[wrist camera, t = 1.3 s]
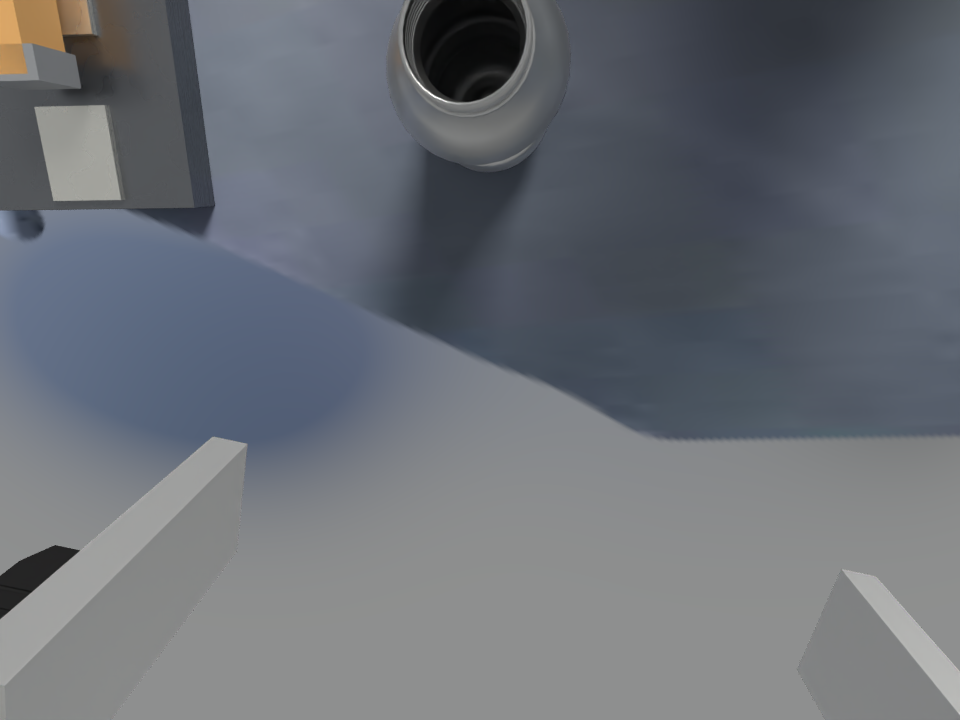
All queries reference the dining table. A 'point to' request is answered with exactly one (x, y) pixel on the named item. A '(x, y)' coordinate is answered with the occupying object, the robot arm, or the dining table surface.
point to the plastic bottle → (478, 77)
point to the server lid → (111, 116)
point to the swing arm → (34, 47)
